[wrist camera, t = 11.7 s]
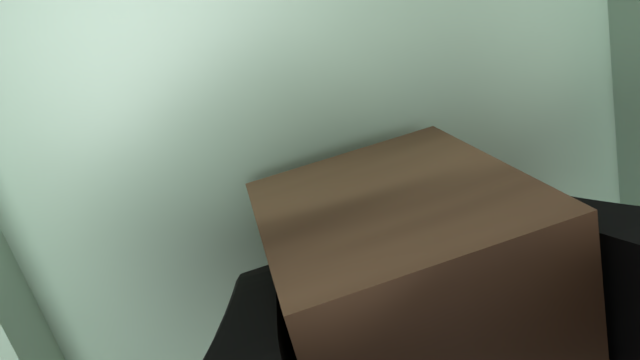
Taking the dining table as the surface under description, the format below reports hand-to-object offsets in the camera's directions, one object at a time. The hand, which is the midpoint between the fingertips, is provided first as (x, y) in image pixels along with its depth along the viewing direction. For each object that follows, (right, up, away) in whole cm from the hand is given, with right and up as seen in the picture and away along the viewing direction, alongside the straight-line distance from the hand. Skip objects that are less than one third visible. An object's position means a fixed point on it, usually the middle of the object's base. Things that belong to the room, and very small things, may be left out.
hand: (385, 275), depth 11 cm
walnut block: (0, +1, +1) cm, 2 cm away
